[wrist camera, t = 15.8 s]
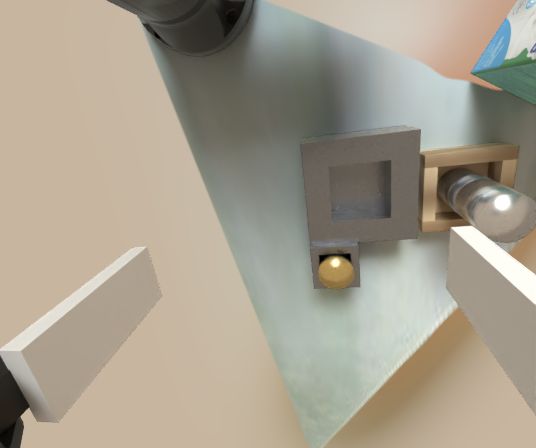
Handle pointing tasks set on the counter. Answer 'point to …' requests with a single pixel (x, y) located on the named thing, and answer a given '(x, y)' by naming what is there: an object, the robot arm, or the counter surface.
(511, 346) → the robot arm
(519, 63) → the milk carton
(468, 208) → the shiny silver rounded cylinder
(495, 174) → the tray
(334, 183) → the socket block
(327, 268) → the gold rounded cylinder
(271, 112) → the counter surface
